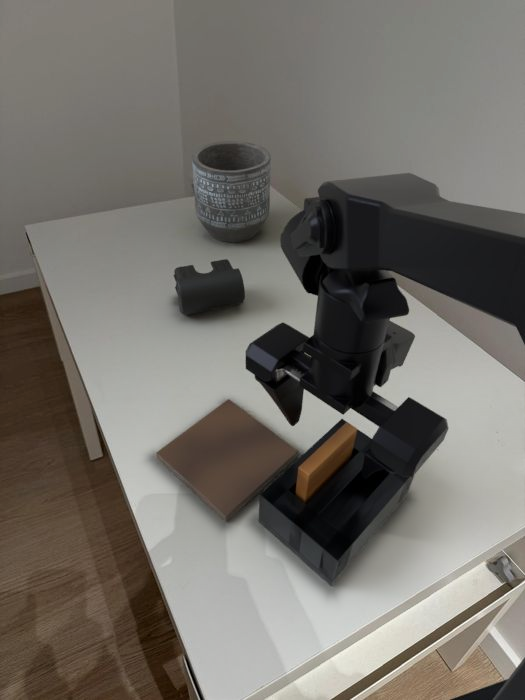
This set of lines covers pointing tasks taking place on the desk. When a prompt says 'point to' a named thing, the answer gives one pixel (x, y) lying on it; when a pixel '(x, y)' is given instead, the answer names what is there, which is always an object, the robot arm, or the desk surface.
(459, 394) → the desk surface
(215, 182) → the planter
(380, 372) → the robot arm
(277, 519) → the toaster
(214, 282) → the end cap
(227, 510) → the board
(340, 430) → the toast
